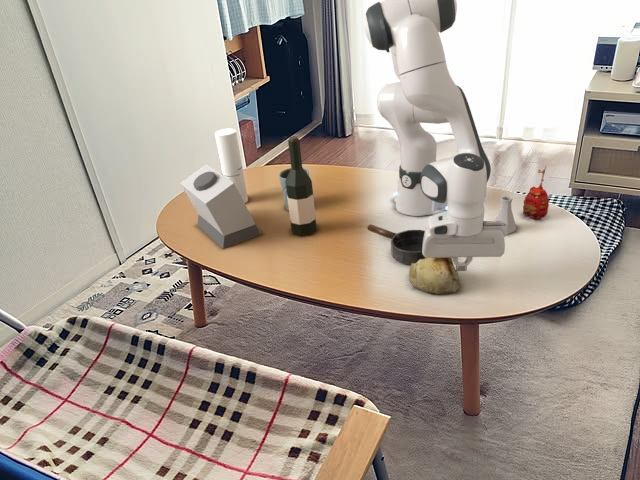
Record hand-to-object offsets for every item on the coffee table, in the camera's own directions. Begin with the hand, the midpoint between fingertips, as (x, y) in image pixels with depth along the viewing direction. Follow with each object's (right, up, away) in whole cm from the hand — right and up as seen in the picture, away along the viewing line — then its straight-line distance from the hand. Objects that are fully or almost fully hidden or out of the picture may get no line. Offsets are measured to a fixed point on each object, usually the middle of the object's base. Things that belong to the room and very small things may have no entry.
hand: (461, 269), depth 146 cm
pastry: (-6, -3, +4) cm, 8 cm away
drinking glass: (-44, +26, +49) cm, 71 cm away
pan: (-10, +6, +16) cm, 20 cm away
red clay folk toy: (+30, +19, +29) cm, 46 cm away
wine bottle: (-42, +16, +34) cm, 56 cm away
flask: (+19, +14, +24) cm, 33 cm away
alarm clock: (-68, +16, +38) cm, 80 cm away
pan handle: (-18, +12, +22) cm, 31 cm away
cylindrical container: (-66, +30, +56) cm, 92 cm away
